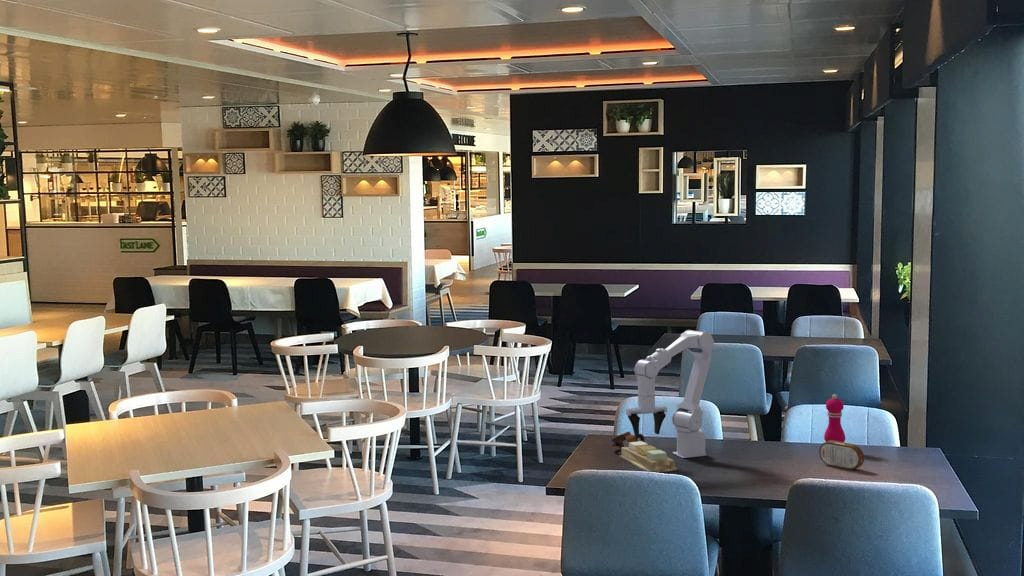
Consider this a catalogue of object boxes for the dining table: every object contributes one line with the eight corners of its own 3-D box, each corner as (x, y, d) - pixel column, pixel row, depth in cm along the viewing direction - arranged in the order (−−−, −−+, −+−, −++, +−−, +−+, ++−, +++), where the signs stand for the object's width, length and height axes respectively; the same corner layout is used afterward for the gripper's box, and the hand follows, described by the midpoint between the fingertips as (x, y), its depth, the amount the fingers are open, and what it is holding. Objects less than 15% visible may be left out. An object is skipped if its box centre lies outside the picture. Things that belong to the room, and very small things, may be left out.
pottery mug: (624, 457, 352) (614, 436, 354) (615, 463, 361) (606, 443, 363) (652, 445, 356) (642, 424, 359) (643, 451, 365) (633, 431, 367)
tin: (864, 470, 326) (864, 445, 325) (859, 472, 324) (859, 446, 323) (822, 462, 337) (822, 438, 336) (817, 464, 335) (817, 439, 334)
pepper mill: (822, 451, 353) (822, 395, 351) (826, 446, 359) (826, 391, 358) (843, 453, 350) (843, 396, 348) (847, 448, 356) (847, 393, 354)
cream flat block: (650, 452, 344) (650, 445, 344) (657, 455, 339) (657, 448, 339) (637, 453, 343) (637, 446, 342) (643, 457, 338) (643, 449, 338)
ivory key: (641, 448, 351) (641, 441, 351) (648, 451, 346) (648, 444, 346) (628, 449, 349) (628, 442, 349) (635, 452, 345) (634, 445, 344)
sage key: (659, 456, 338) (659, 449, 337) (666, 460, 333) (666, 452, 333) (646, 458, 336) (646, 451, 336) (653, 461, 331) (653, 454, 331)
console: (645, 454, 354) (645, 444, 354) (677, 470, 331) (677, 460, 331) (619, 457, 351) (619, 447, 351) (649, 473, 328) (649, 463, 328)
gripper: (631, 398, 334) (632, 438, 335) (671, 395, 338) (671, 435, 339) (623, 395, 340) (623, 434, 341) (661, 392, 345) (662, 431, 346)
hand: (646, 434), depth 341 cm, fingers open, 7 cm apart
